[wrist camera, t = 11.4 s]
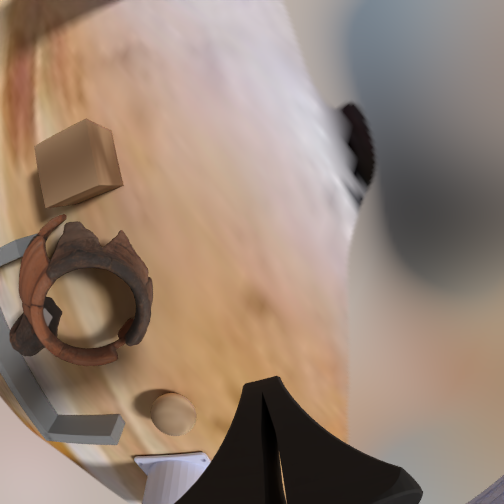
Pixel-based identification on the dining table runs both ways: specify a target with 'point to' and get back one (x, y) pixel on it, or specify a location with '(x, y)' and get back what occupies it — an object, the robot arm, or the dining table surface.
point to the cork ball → (173, 414)
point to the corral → (32, 397)
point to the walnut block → (77, 164)
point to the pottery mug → (63, 261)
